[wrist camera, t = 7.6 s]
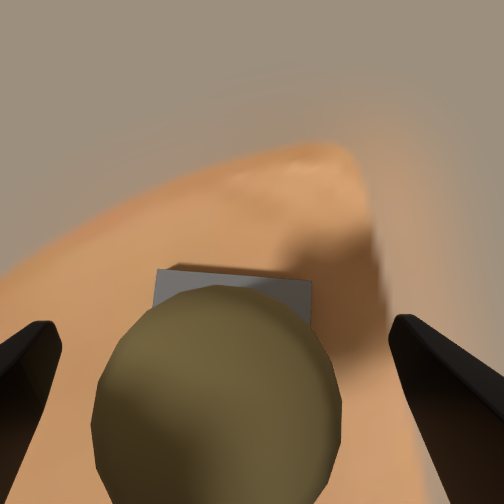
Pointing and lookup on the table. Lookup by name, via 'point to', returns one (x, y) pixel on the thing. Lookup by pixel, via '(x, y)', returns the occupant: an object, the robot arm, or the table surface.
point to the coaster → (283, 290)
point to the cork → (217, 404)
